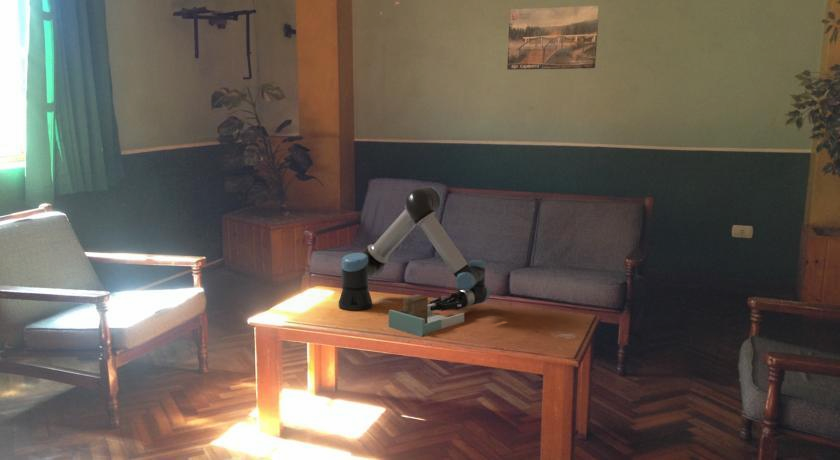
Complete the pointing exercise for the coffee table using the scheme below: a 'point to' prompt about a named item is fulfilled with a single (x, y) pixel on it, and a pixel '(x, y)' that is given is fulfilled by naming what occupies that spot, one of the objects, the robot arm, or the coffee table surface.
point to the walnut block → (416, 306)
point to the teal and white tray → (421, 322)
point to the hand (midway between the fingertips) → (423, 309)
